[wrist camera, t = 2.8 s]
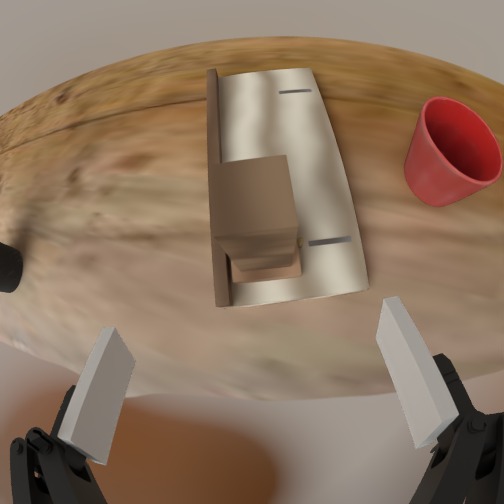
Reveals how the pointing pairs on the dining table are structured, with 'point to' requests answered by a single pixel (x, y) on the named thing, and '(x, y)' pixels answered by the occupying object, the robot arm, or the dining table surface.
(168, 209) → the dining table surface
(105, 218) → the dining table surface
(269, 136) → the birch board
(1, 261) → the travel mug
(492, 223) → the dining table surface
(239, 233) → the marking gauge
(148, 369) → the dining table surface
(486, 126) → the flower pot
